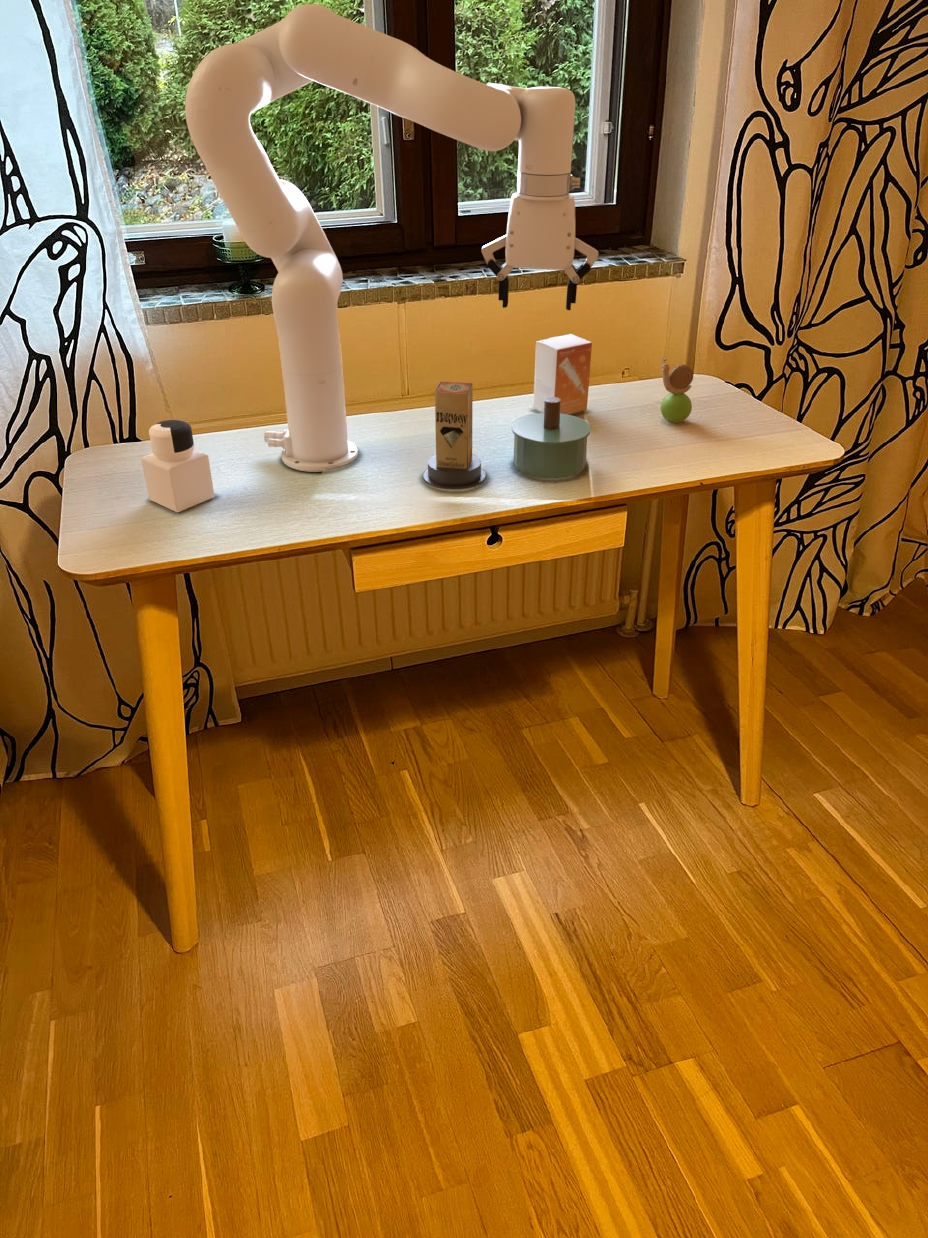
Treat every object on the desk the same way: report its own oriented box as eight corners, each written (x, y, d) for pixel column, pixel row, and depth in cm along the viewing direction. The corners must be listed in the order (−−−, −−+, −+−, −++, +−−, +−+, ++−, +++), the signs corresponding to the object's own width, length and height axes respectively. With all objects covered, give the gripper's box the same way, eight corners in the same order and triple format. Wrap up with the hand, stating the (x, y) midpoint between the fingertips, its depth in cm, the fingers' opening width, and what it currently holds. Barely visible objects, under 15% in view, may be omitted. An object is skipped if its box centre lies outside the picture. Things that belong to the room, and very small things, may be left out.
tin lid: (510, 447, 151) (511, 413, 147) (512, 417, 161) (513, 385, 158) (592, 449, 150) (594, 415, 147) (589, 419, 160) (591, 386, 157)
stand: (419, 491, 151) (419, 473, 149) (426, 465, 159) (426, 448, 157) (484, 493, 150) (484, 475, 148) (487, 467, 158) (487, 449, 157)
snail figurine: (648, 418, 176) (655, 353, 170) (680, 414, 178) (688, 349, 171) (662, 429, 172) (670, 362, 165) (695, 425, 173) (704, 358, 167)
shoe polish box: (441, 454, 155) (440, 381, 149) (472, 456, 154) (472, 382, 148) (436, 467, 151) (434, 392, 144) (467, 469, 150) (467, 394, 144)
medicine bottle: (186, 484, 153) (174, 411, 146) (215, 497, 149) (204, 423, 143) (148, 500, 148) (133, 425, 142) (177, 513, 144) (163, 437, 138)
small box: (553, 421, 175) (556, 349, 168) (532, 410, 180) (534, 340, 173) (588, 411, 179) (593, 341, 172) (566, 401, 183) (570, 332, 176)
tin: (512, 480, 154) (513, 443, 151) (514, 451, 164) (515, 415, 160) (586, 482, 153) (588, 444, 150) (583, 453, 163) (586, 417, 160)
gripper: (603, 182, 142) (593, 302, 151) (485, 179, 143) (482, 297, 152) (605, 191, 135) (594, 315, 145) (481, 187, 136) (478, 311, 146)
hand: (536, 306), depth 148 cm, fingers open, 9 cm apart
